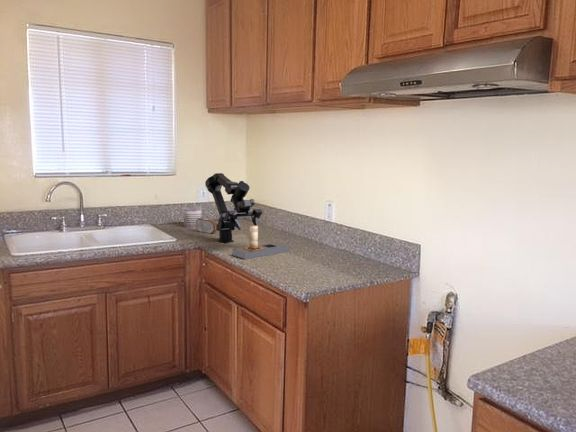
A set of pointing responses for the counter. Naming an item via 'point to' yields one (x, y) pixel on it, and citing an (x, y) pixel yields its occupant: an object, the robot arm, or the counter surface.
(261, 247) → the silver slotted plate
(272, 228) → the counter surface
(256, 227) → the peg
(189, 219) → the can
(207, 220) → the tin
